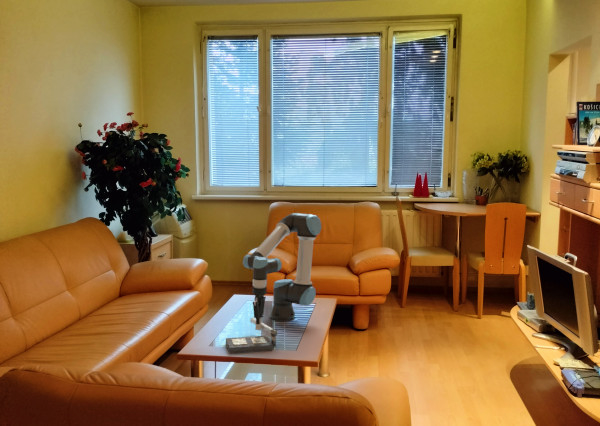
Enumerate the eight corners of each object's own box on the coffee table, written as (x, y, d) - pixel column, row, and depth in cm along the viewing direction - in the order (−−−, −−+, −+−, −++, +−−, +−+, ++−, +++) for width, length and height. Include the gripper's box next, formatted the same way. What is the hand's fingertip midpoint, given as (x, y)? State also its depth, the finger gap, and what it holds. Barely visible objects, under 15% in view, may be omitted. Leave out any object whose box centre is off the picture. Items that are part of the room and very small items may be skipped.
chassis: (272, 340, 287) (273, 330, 287) (278, 350, 274) (279, 339, 273) (225, 343, 281) (225, 333, 280) (229, 353, 267) (229, 343, 267)
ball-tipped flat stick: (278, 335, 279) (278, 330, 279) (272, 336, 278) (272, 331, 277) (254, 321, 301) (254, 317, 300) (249, 322, 299) (249, 317, 299)
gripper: (257, 283, 293) (256, 324, 296) (248, 288, 281) (247, 332, 283) (270, 284, 291) (269, 326, 294) (261, 290, 278) (260, 334, 281)
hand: (258, 329), depth 288 cm, fingers closed
